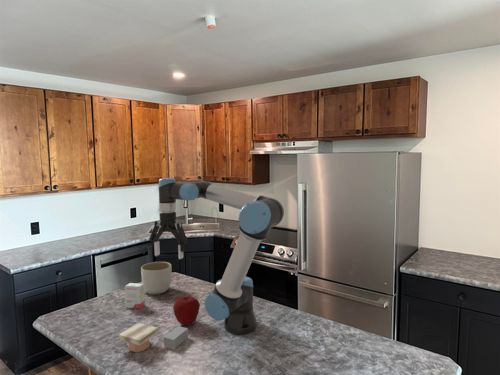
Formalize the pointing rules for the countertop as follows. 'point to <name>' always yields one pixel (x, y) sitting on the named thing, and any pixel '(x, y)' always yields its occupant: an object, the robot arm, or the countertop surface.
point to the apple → (186, 310)
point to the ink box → (134, 295)
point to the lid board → (138, 333)
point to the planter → (156, 277)
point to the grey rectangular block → (175, 337)
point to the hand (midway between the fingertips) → (168, 256)
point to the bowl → (139, 346)
